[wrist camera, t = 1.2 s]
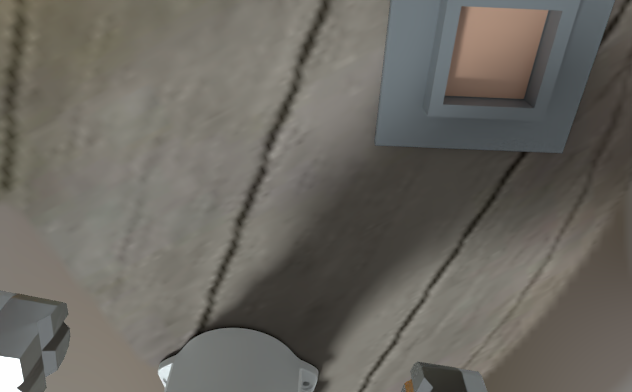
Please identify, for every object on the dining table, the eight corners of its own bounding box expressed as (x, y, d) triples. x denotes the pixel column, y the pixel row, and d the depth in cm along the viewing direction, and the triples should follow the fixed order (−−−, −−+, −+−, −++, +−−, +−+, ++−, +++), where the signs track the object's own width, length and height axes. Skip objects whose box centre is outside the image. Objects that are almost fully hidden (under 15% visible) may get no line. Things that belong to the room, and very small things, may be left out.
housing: (558, 149, 40) (573, 163, 37) (374, 141, 40) (377, 155, 37) (629, -63, 32) (654, -62, 29) (398, -73, 31) (404, -73, 29)
